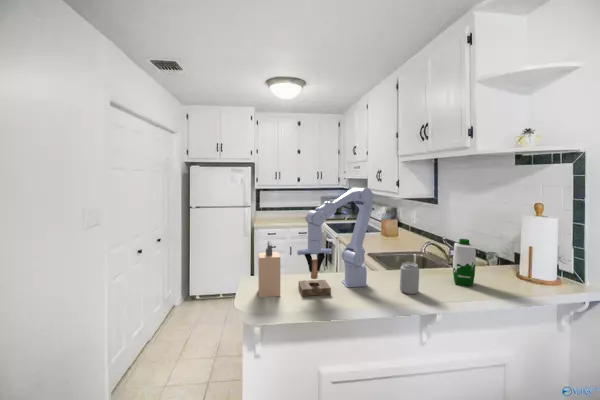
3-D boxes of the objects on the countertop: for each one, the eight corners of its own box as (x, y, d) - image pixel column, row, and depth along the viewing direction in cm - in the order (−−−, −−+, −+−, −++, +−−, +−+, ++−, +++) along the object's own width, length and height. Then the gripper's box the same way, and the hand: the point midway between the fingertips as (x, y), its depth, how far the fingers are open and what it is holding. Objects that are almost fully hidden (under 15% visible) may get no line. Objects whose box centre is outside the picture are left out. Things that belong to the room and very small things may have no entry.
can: (409, 296, 122) (410, 267, 121) (395, 290, 129) (396, 262, 128) (422, 293, 126) (423, 265, 125) (408, 287, 132) (409, 260, 131)
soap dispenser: (258, 289, 129) (258, 239, 127) (278, 288, 130) (278, 238, 129) (259, 301, 116) (259, 246, 115) (281, 300, 118) (281, 245, 116)
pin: (316, 276, 128) (317, 258, 128) (318, 278, 126) (318, 260, 125) (310, 276, 128) (310, 258, 128) (311, 279, 125) (311, 260, 125)
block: (325, 286, 133) (325, 279, 133) (330, 295, 123) (330, 288, 123) (298, 287, 131) (298, 281, 131) (302, 296, 121) (302, 289, 121)
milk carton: (472, 281, 140) (474, 239, 139) (475, 288, 132) (477, 243, 130) (451, 279, 144) (453, 237, 142) (453, 285, 135) (455, 241, 134)
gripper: (329, 237, 131) (328, 267, 132) (296, 237, 128) (296, 268, 129) (333, 240, 124) (332, 272, 125) (298, 241, 121) (298, 274, 122)
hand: (314, 271), depth 127 cm, fingers closed on pin, 3 cm apart
